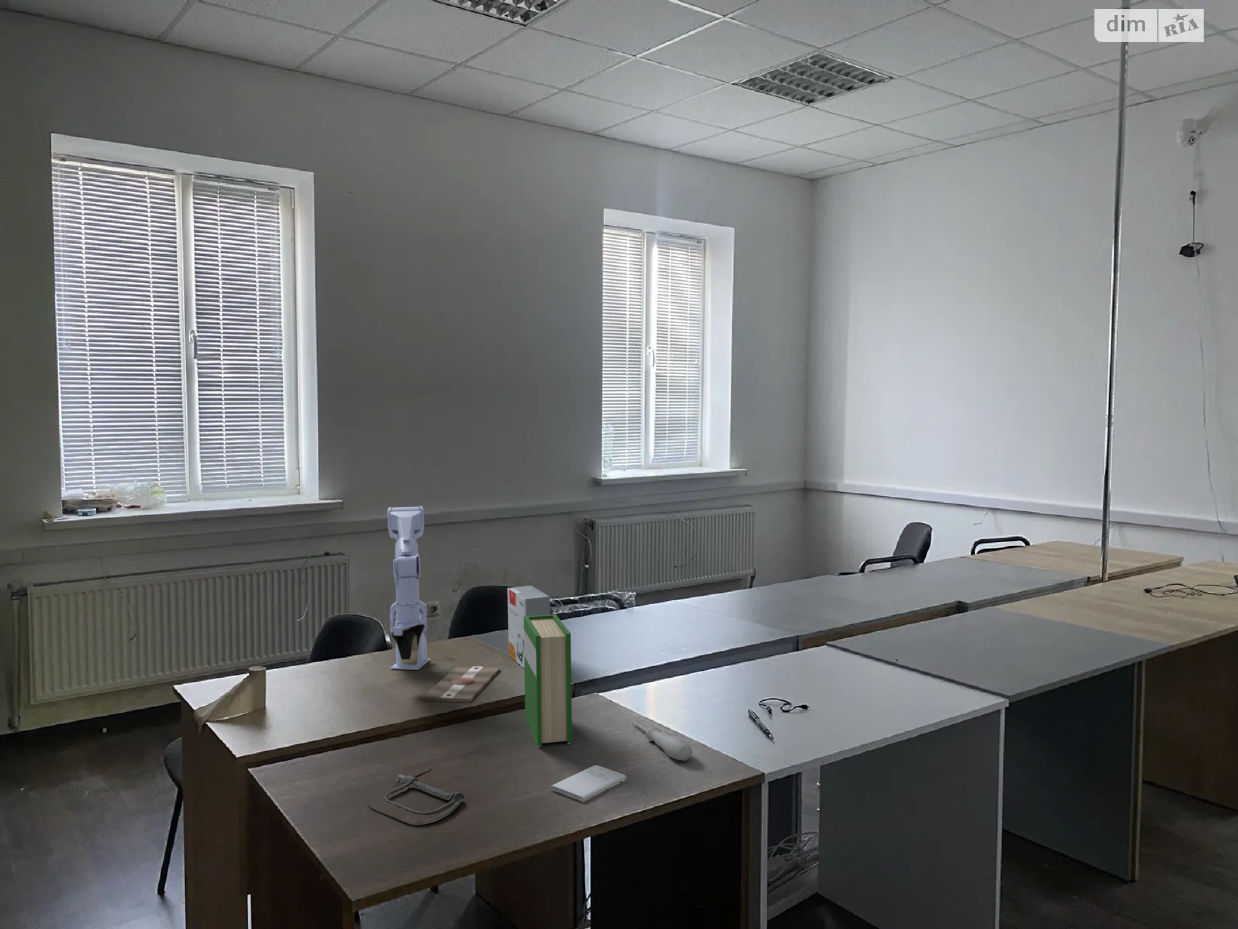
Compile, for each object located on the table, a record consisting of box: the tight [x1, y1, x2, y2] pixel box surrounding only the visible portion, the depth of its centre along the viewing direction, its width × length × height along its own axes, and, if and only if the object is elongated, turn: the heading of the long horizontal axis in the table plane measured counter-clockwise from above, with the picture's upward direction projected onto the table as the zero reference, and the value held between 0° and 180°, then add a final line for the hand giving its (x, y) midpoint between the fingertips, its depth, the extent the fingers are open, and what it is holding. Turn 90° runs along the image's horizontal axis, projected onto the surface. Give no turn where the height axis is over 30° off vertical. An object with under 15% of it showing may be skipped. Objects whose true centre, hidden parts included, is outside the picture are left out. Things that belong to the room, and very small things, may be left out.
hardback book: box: [523, 613, 573, 747], centre depth 198 cm, size 18×7×24 cm, turn 14°
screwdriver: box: [630, 720, 693, 762], centre depth 191 cm, size 5×25×4 cm, turn 25°
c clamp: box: [383, 774, 465, 821], centre depth 166 cm, size 20×17×3 cm
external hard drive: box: [550, 764, 627, 799], centre depth 171 cm, size 2×8×12 cm
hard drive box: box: [507, 585, 551, 669], centre depth 251 cm, size 16×8×20 cm, turn 25°
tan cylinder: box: [401, 635, 418, 666], centre depth 227 cm, size 4×4×7 cm
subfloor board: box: [422, 665, 501, 703], centre depth 232 cm, size 26×12×1 cm, turn 172°
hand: (409, 656), depth 227 cm, fingers closed on tan cylinder, 4 cm apart
